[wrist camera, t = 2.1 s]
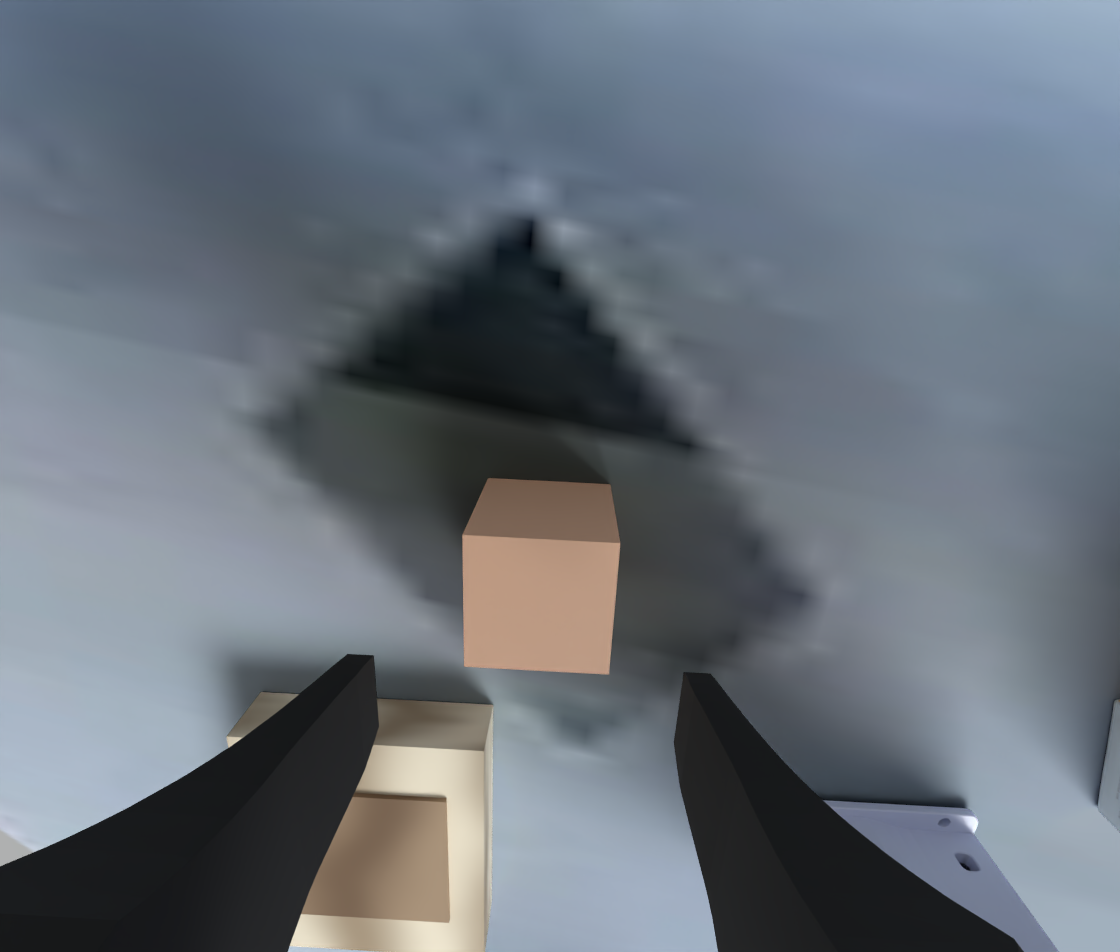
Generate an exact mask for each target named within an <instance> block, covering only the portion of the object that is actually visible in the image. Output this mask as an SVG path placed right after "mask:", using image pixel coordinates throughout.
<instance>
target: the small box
mask: <svg viewBox="0 0 1120 952" xmlns="http://www.w3.org/2000/svg"><path fill="white" fill-rule="evenodd" d="M1098 810H1099V812H1100V813H1101V814H1102V815H1103V816H1104V817H1105V818H1106V819H1107V820H1108V821H1109V822H1110V823H1111V824H1112V825H1113V826H1114V827H1115V828H1116V829H1117V831H1118V832H1119V833H1120V699H1118V700H1115V702H1114V707H1113V714H1112V720H1111V727H1110V732H1109V739H1108V746H1107V751H1106V757H1105V763H1104V768H1103V773H1102V780H1101V785H1100V794H1099V799H1098Z"/></svg>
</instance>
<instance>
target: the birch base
mask: <svg viewBox="0 0 1120 952" xmlns="http://www.w3.org/2000/svg"><path fill="white" fill-rule="evenodd" d="M298 695H299V694H288V693H270V692H260V694H259V695H258V696H257V698H256V699H255V700H254V702H253V703H252V704H251V705H250V707H249V708H248V709H247V711H246V712H245V713H244V714H243V716H242V717H241V718H240V720H239V721H238V722H237V724H236V725H235V726H234V727H233V729H232V730H231V731H230V733H229V734H228V735H227V742H228V748H229V747H230V746H232V745H233V744H235V743H236V742H238V741H239V740H240V739H242V738H243V737H244V736H246V735H247V734H248V733H250V732H251V731H252V730H254V729H255V728H256V727H258V726H259V725H260V724H262V723H263V722H264V721H266V720H267V719H269V718H270V717H271V716H273V715H274V714H275V713H277V712H278V711H279V710H280V709H282V708H283V707H284V706H285V705H287V704H288V703H289V702H290V701H291V700H293V699H294V698H295V697H296V696H298ZM377 705H378V718H379V728H378V731H377V735H376V738H375V741H374V744H373V747H372V750H371V753H370V756H369V759H368V762H367V765H366V768H365V771H364V773H363V775H362V777H361V780H360V782H359V784H358V786H357V788H356V791H355V793H354V795H353V797H352V799H351V801H350V804H349V806H348V808H347V810H346V812H345V814H344V817H343V819H342V821H341V823H340V825H339V827H338V829H337V832H336V834H335V836H334V838H333V840H332V842H331V844H330V847H329V849H328V851H327V853H326V855H325V857H324V859H323V862H322V864H321V866H320V868H319V870H318V872H317V875H316V877H315V880H314V882H313V884H312V887H311V889H310V891H309V894H308V897H307V899H306V902H305V905H304V908H303V910H302V913H301V916H300V919H299V921H298V924H297V927H296V930H295V932H294V935H293V938H292V941H291V943H290V946H298V947H315V948H331V949H348V950H364V951H381V952H485V947H486V939H487V932H488V925H489V917H490V910H491V903H492V801H493V705H486V704H468V703H450V702H432V701H414V700H396V699H378V698H377Z"/></svg>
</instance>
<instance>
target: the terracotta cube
mask: <svg viewBox="0 0 1120 952" xmlns="http://www.w3.org/2000/svg"><path fill="white" fill-rule="evenodd" d="M462 539H463V614H464V667H480V668H498V669H516V670H535V671H553V672H571V673H590V674H608V675H609V667H610V655H611V644H612V633H613V621H614V610H615V599H616V588H617V576H618V565H619V554H620V538H619V532H618V526H617V521H616V515H615V509H614V503H613V497H612V492H611V486H610V484H595V483H575V482H556V481H536V480H517V479H497V478H488V479H487V482H486V484H485V486H484V488H483V490H482V493H481V495H480V497H479V499H478V502H477V504H476V506H475V508H474V510H473V513H472V515H471V517H470V519H469V522H468V524H467V526H466V528H465V530H464V533H463V535H462Z"/></svg>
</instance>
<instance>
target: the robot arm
mask: <svg viewBox="0 0 1120 952" xmlns="http://www.w3.org/2000/svg"><path fill="white" fill-rule="evenodd" d="M378 728H379V718H378V705H377V692H376V679H375V666H374V656H373V655H355V654H347V655H346V656H345V657H344V658H342V659H341V660H340V661H339V662H337V663H336V664H335V665H334V666H333V667H331V668H330V669H329V670H328V671H327V672H325V673H324V674H323V675H322V676H321V677H319V678H318V679H317V680H316V681H315V682H313V683H312V684H311V685H310V686H309V687H307V688H306V689H305V690H304V691H303V692H301V693H300V694H299V695H298V696H296V697H295V698H294V699H293V700H291V701H290V702H289V703H288V704H287V705H285V706H284V707H283V708H282V709H280V710H279V711H278V712H277V713H275V714H274V715H273V716H271V717H270V718H269V719H267V720H266V721H264V722H263V723H262V724H260V725H259V726H258V727H256V728H255V729H254V730H252V731H251V732H250V733H248V734H247V735H246V736H244V737H243V738H242V739H240V740H239V741H238V742H236V743H235V744H233V745H232V746H230V747H229V748H227V749H226V750H224V751H223V752H221V753H220V754H218V755H217V756H215V757H214V758H212V759H211V760H209V761H208V762H206V763H205V764H203V765H201V766H200V767H198V768H197V769H195V770H193V771H192V772H190V773H189V774H187V775H185V776H184V777H182V778H180V779H179V780H177V781H175V782H173V783H172V784H170V785H168V786H166V787H164V788H163V789H161V790H159V791H157V792H156V793H154V794H152V795H150V796H148V797H147V798H145V799H143V800H141V801H139V802H138V803H136V804H134V805H132V806H131V807H129V808H127V809H125V810H123V811H121V812H119V813H117V814H115V815H113V816H111V817H109V818H107V819H105V820H103V821H101V822H99V823H97V824H95V825H93V826H91V827H89V828H87V829H85V830H82V831H80V832H78V833H76V834H74V835H72V836H70V837H68V838H66V839H63V840H61V841H59V842H57V843H54V844H52V845H50V846H48V847H46V848H43V849H41V850H38V851H36V852H34V853H32V854H29V855H27V856H24V857H22V858H19V859H17V860H15V861H12V862H10V863H7V864H5V865H3V866H0V952H288V949H289V946H290V943H291V941H292V938H293V935H294V932H295V930H296V927H297V924H298V921H299V919H300V916H301V913H302V910H303V908H304V905H305V902H306V899H307V897H308V894H309V891H310V889H311V887H312V884H313V882H314V880H315V877H316V875H317V872H318V870H319V868H320V866H321V864H322V862H323V859H324V857H325V855H326V853H327V851H328V849H329V847H330V844H331V842H332V840H333V838H334V836H335V834H336V832H337V829H338V827H339V825H340V823H341V821H342V819H343V817H344V814H345V812H346V810H347V808H348V806H349V804H350V801H351V799H352V797H353V795H354V793H355V791H356V788H357V786H358V784H359V782H360V780H361V777H362V775H363V773H364V771H365V768H366V765H367V762H368V759H369V756H370V753H371V750H372V747H373V744H374V741H375V738H376V735H377V731H378ZM674 747H675V754H676V762H677V769H678V776H679V783H680V789H681V793H682V797H683V801H684V805H685V809H686V813H687V817H688V821H689V825H690V829H691V832H692V836H693V840H694V844H695V848H696V852H697V856H698V859H699V863H700V867H701V871H702V875H703V879H704V883H705V887H706V890H707V895H708V899H709V904H710V908H711V913H712V918H713V924H714V930H715V936H716V942H717V948H718V952H1059V951H1058V950H1057V948H1056V947H1055V945H1054V944H1053V943H1052V941H1051V940H1050V938H1049V937H1048V936H1047V934H1046V933H1045V932H1044V930H1043V929H1042V927H1041V926H1040V925H1039V923H1038V922H1037V921H1036V919H1035V918H1034V916H1033V915H1032V914H1031V912H1030V911H1029V909H1028V908H1027V907H1026V905H1025V904H1024V903H1023V901H1022V900H1021V898H1020V897H1019V896H1018V894H1017V893H1016V891H1015V890H1014V889H1013V887H1012V886H1011V885H1010V883H1009V882H1008V880H1007V879H1006V878H1005V876H1004V875H1003V873H1002V872H1001V871H1000V869H999V868H998V867H997V865H996V864H995V862H994V861H993V860H992V858H991V857H990V856H989V854H988V853H987V851H986V850H985V849H984V847H983V846H982V844H981V843H980V842H979V840H978V839H977V838H976V836H975V835H974V833H975V830H976V828H977V825H978V819H977V817H976V816H975V814H974V813H973V812H972V811H971V810H970V809H965V808H950V807H933V806H915V805H898V804H880V803H862V802H845V801H827V800H822V799H821V798H820V797H819V796H818V795H817V794H816V793H814V792H813V791H812V790H811V789H810V788H809V787H808V786H807V785H806V784H805V783H804V782H803V781H802V780H801V779H800V778H799V777H798V776H797V775H796V774H795V773H794V772H793V771H792V770H791V769H790V768H789V767H788V766H787V765H786V764H785V762H784V761H783V760H782V759H781V758H780V757H779V756H778V755H777V754H776V753H775V752H774V750H773V749H772V748H771V747H770V746H769V745H768V744H767V742H766V741H765V740H764V739H763V738H762V737H761V735H760V734H759V733H758V732H757V731H756V730H755V729H754V727H753V726H752V725H751V724H750V723H749V721H748V720H747V719H746V718H745V716H744V715H743V714H742V713H741V711H740V710H739V709H738V708H737V706H736V705H735V704H734V703H733V701H732V700H731V699H730V698H729V696H728V695H727V694H726V693H725V691H724V690H723V689H722V687H721V686H720V685H719V684H718V682H717V681H716V680H715V678H714V677H713V676H712V675H711V674H708V673H689V672H684V675H683V682H682V689H681V696H680V703H679V710H678V717H677V724H676V731H675V738H674Z"/></svg>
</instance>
